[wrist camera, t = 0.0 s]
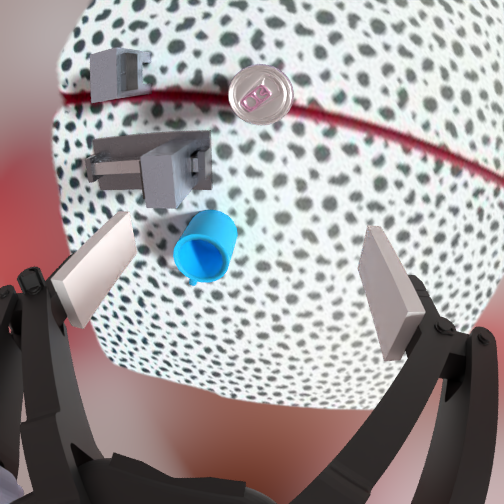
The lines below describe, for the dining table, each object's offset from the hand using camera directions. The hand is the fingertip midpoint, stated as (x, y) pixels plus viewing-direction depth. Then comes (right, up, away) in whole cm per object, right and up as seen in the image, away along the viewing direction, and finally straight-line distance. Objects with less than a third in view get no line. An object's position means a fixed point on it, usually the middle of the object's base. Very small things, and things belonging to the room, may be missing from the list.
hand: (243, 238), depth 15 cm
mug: (-7, +1, +34) cm, 34 cm away
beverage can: (+3, +21, +20) cm, 29 cm away
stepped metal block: (-16, +25, +19) cm, 36 cm away
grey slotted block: (-15, +13, +27) cm, 34 cm away
